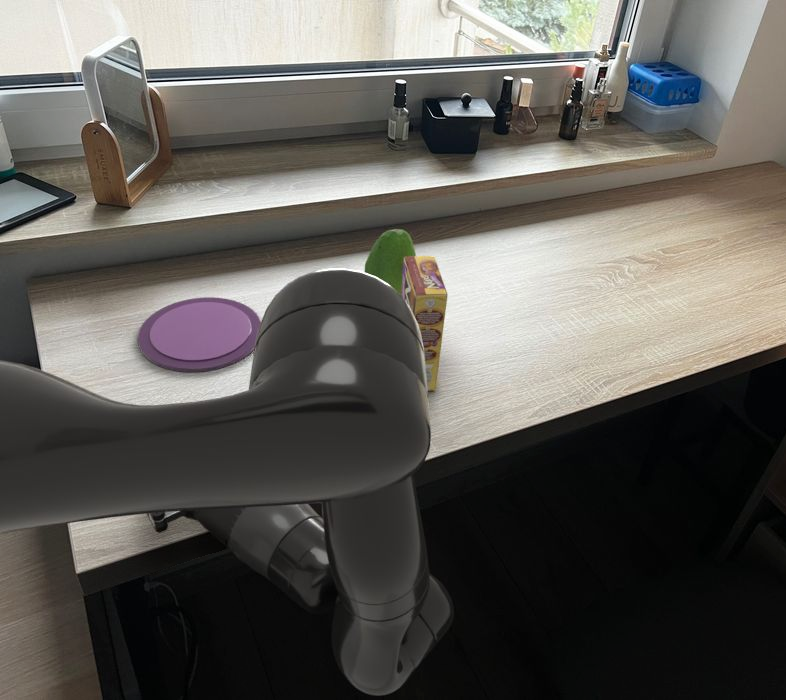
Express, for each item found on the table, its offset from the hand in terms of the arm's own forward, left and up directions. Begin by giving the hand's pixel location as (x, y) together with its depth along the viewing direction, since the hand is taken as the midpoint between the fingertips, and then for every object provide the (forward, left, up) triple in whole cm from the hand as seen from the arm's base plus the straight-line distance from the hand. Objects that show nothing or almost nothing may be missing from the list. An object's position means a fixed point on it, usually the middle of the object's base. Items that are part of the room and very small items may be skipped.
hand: (156, 434), depth 75 cm
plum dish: (+14, +20, -6) cm, 26 cm away
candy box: (+33, -3, -6) cm, 34 cm away
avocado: (+40, +12, -6) cm, 43 cm away
